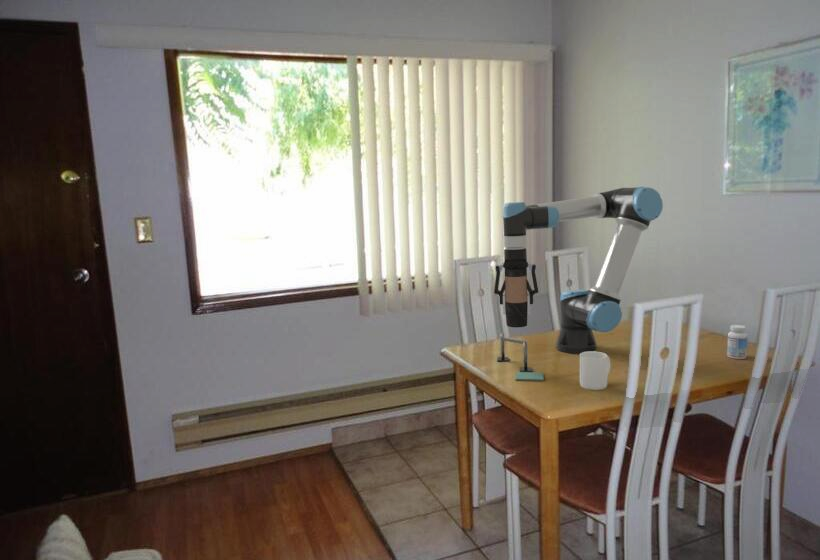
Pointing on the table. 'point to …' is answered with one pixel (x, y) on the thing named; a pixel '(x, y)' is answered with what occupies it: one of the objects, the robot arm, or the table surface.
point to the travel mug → (516, 298)
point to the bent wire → (505, 359)
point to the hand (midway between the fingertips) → (516, 313)
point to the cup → (594, 370)
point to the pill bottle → (737, 342)
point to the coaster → (529, 376)
